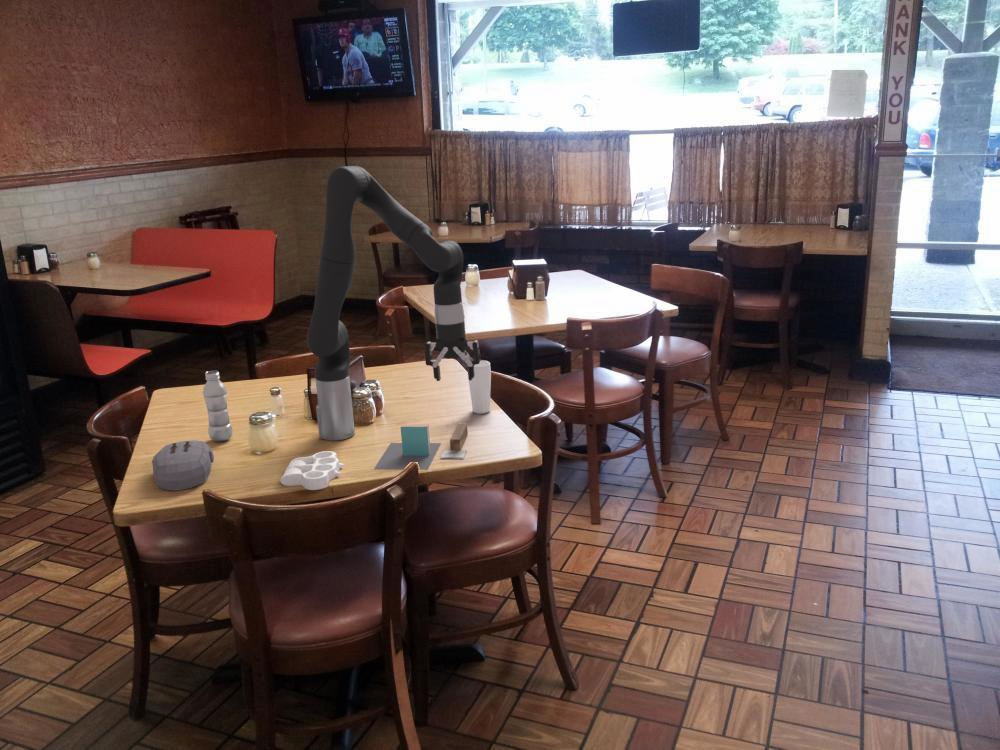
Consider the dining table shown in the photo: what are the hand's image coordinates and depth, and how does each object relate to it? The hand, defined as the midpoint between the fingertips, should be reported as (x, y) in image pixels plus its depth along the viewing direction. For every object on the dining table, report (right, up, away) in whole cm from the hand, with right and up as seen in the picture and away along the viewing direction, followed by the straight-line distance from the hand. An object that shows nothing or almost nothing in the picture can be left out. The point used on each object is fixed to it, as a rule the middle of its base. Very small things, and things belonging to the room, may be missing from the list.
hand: (454, 379), depth 232 cm
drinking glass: (+6, -10, +32) cm, 34 cm away
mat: (-12, -20, 0) cm, 24 cm away
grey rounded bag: (-69, -25, -6) cm, 73 cm away
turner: (+1, -18, +4) cm, 19 cm away
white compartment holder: (-35, -25, -9) cm, 44 cm away
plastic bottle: (-67, -17, +19) cm, 72 cm away
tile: (-10, -19, +1) cm, 22 cm away
